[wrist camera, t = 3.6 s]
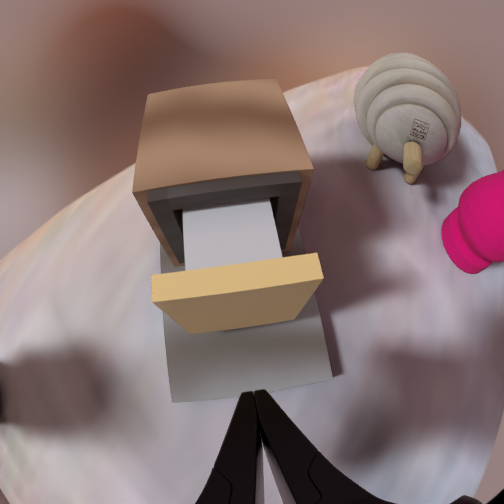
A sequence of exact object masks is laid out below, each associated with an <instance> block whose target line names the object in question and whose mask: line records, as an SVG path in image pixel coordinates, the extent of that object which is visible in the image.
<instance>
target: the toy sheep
mask: <svg viewBox="0 0 504 504" xmlns="http://www.w3.org/2000/svg"><path fill="white" fill-rule="evenodd" d="M354 106H355V111H356V117H357V122H358V125H359V128H360V130H361V132H362V134H363V135H364V137H365V138H366V139H367V140H368V142H369V143H370V144H371V145H372V146H373V147H372V149H371V151H370V153H369V155H368V158H367V160H366V165H367V167H368V168H370V169H372V170H374V169H377V168H378V166H379V164H380V162H381V160H382V158H383V156H384V154H385V155H387V156H388V157H390V158H391V159H393V160H395V161H397V162H401V163H403V168H404V170H405V171H406V172H405V174H404V180H405V181H406V182H407V183H409V184H413V183H414V182H415V181H416V179H417V177H418V176H419V174H420V173H421V171H422V169H423V168H424V166H425V165H428V164H432V163H435V162H437V161H439V160H441V159H443V158H444V157H446V156H447V155H448V154H449V153H450V152H451V150H452V149H453V147H454V146H455V144H456V141H457V138H458V135H459V132H460V128H461V113H460V111H461V110H460V102H459V99H458V95H457V93H456V91H455V89H454V87H453V86H452V84H451V83H450V81H449V80H448V79H447V78H446V77H445V76H444V74H443V73H442V72H441V71H440V70H439V69H438V68H437V67H436V66H434V65H433V64H432V63H430V62H428V61H427V60H424V59H422V58H421V57H419V56H416V55H413V54H409V53H392V54H389V55H386V56H384V57H382V58H380V59H378V60H377V61H375V62H374V63H373V64H372V65H371V66H370V67H369V68H368V69H367V70H366V72H365V73H364V74H363V76H362V77H361V78H360V80H359V82H358V83H357V86H356V89H355V94H354Z"/></svg>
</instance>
